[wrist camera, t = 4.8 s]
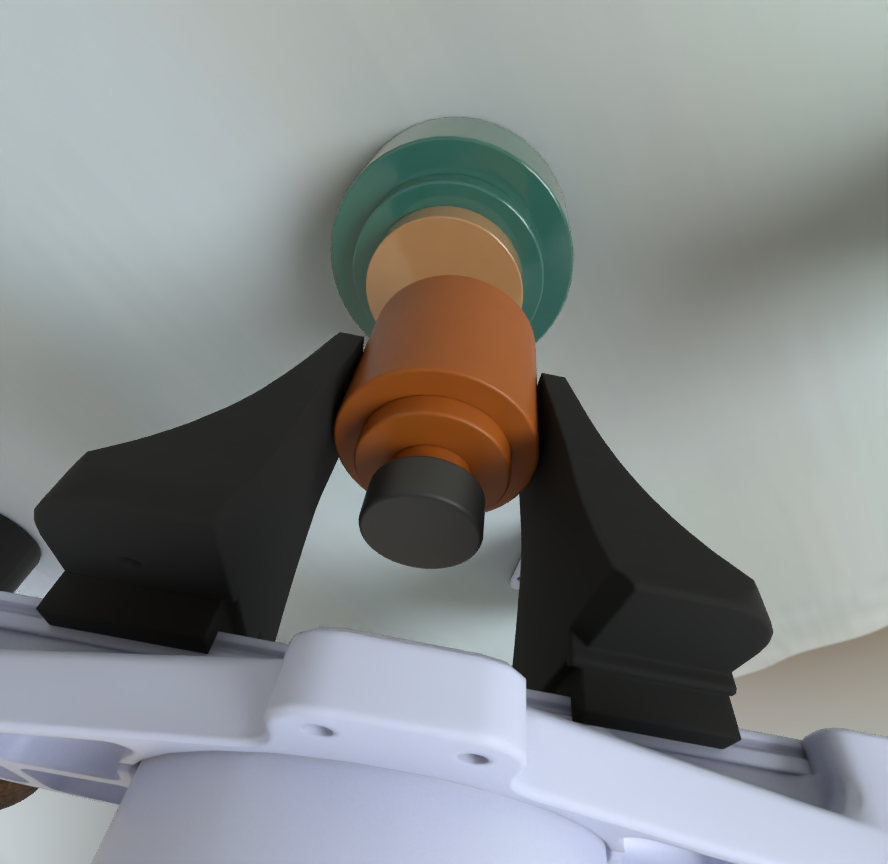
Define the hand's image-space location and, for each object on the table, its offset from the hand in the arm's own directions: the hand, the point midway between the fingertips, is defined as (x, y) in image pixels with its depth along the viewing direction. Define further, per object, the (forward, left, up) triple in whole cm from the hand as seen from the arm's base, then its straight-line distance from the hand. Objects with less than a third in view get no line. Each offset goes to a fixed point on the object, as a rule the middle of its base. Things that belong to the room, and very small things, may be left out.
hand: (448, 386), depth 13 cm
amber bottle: (0, 0, -2) cm, 2 cm away
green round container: (0, +1, -9) cm, 9 cm away
